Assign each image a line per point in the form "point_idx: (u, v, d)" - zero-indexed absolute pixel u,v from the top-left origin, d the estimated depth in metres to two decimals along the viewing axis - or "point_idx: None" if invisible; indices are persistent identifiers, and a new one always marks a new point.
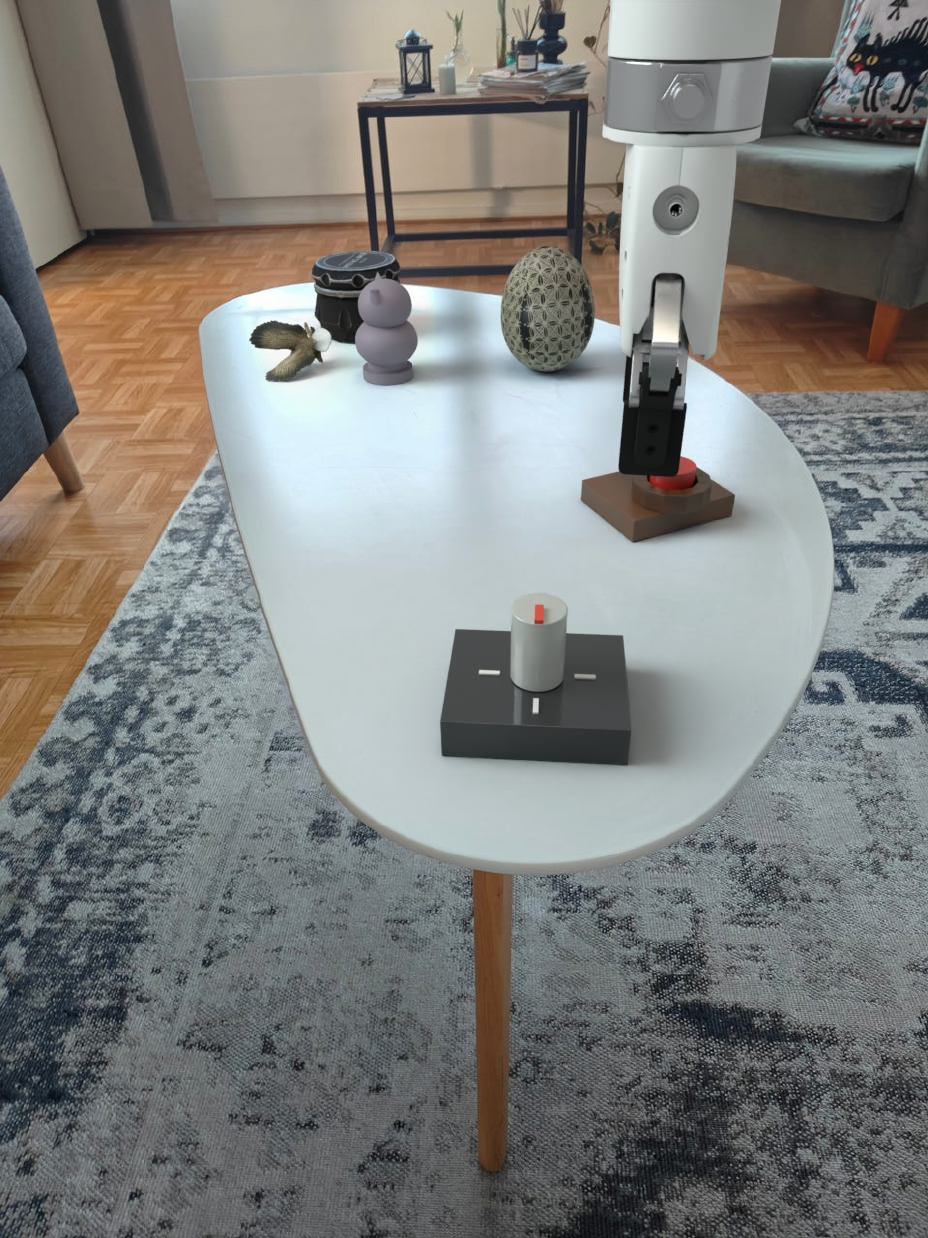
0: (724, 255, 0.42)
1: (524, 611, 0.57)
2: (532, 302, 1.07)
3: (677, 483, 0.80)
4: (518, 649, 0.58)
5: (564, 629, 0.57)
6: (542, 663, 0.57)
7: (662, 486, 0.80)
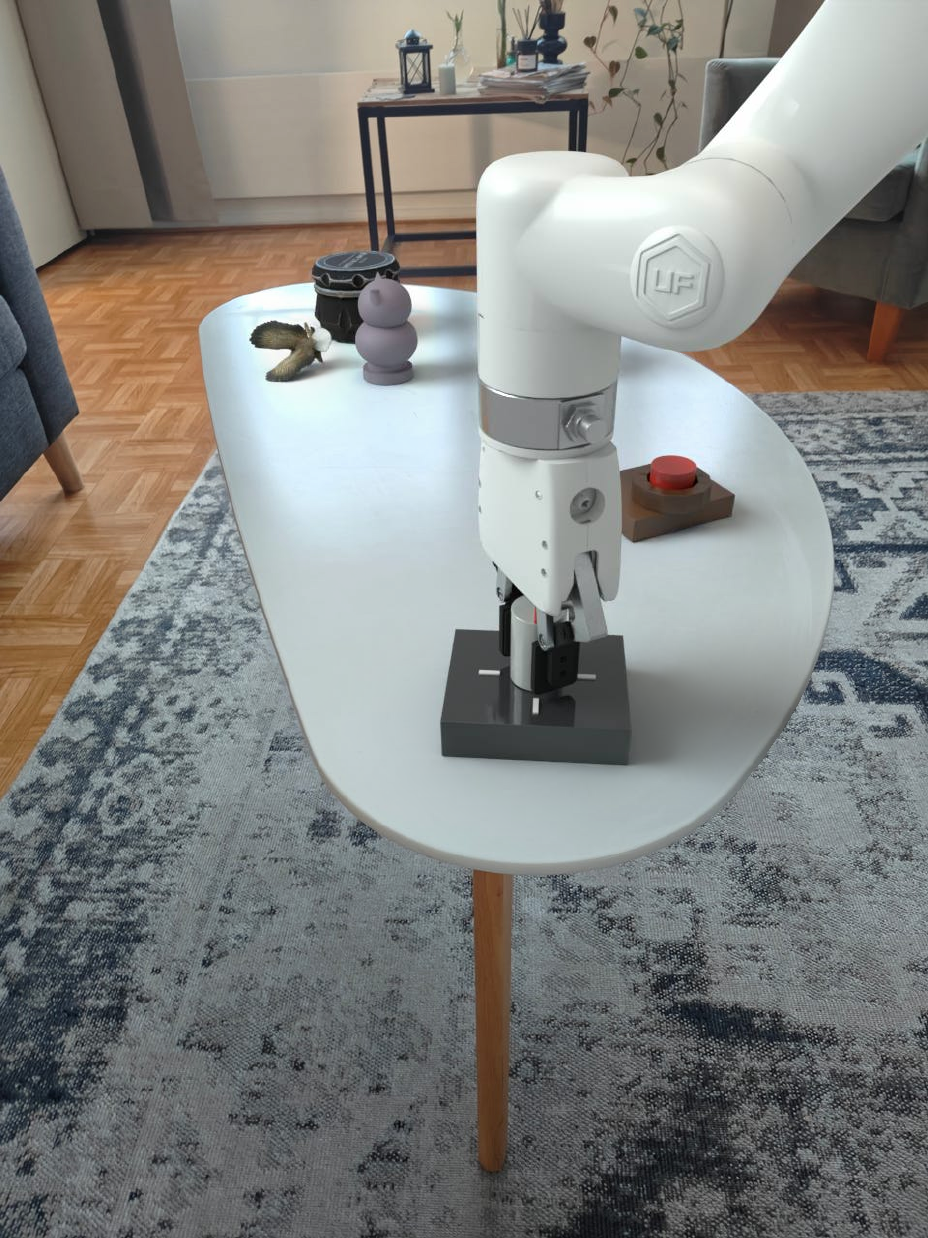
0: (621, 526, 0.50)
1: (524, 611, 0.57)
2: None
3: (677, 483, 0.80)
4: (518, 649, 0.58)
5: None
6: None
7: (662, 486, 0.80)
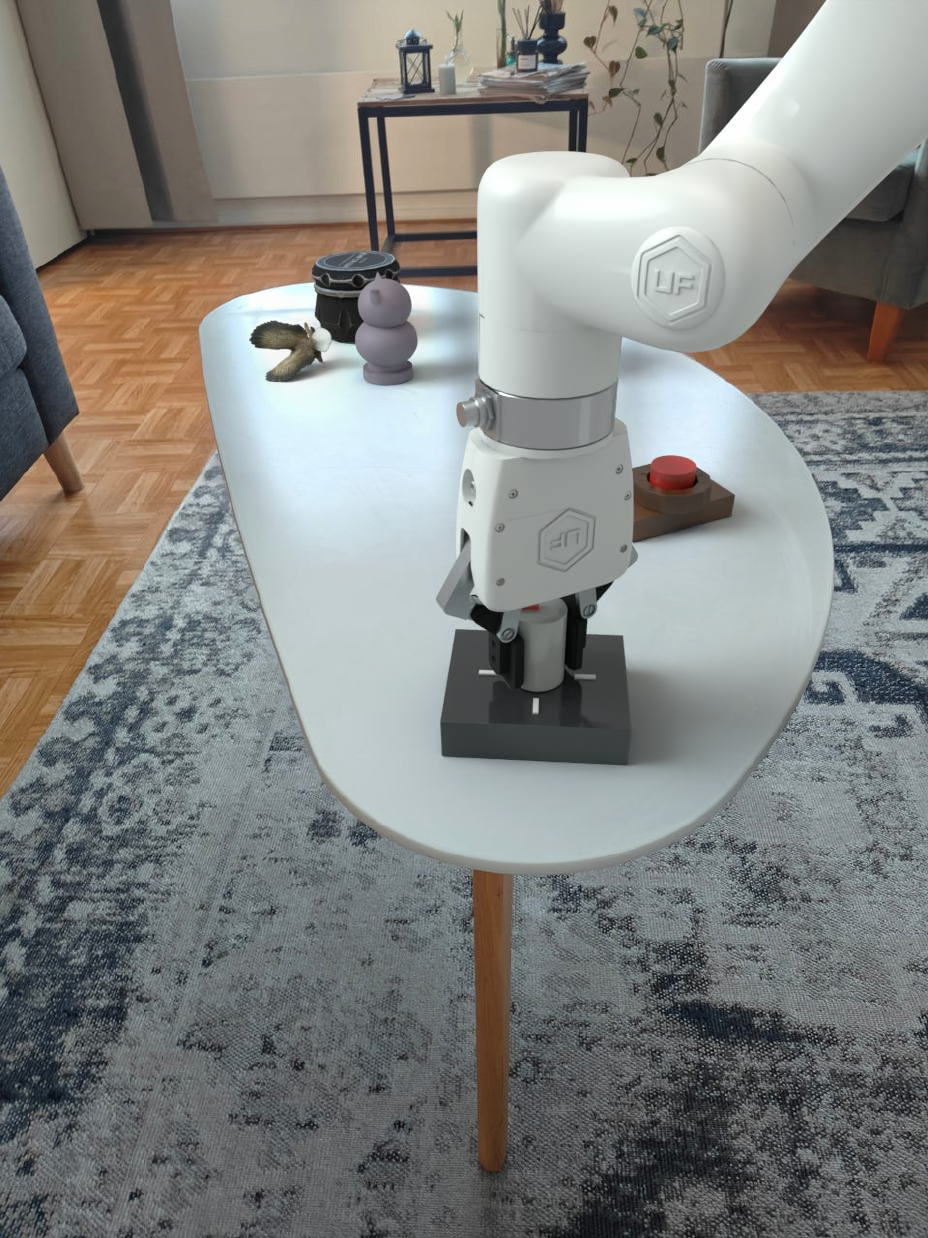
0: (491, 537, 0.49)
1: None
2: None
3: (677, 483, 0.80)
4: None
5: (526, 636, 0.57)
6: None
7: (662, 486, 0.80)
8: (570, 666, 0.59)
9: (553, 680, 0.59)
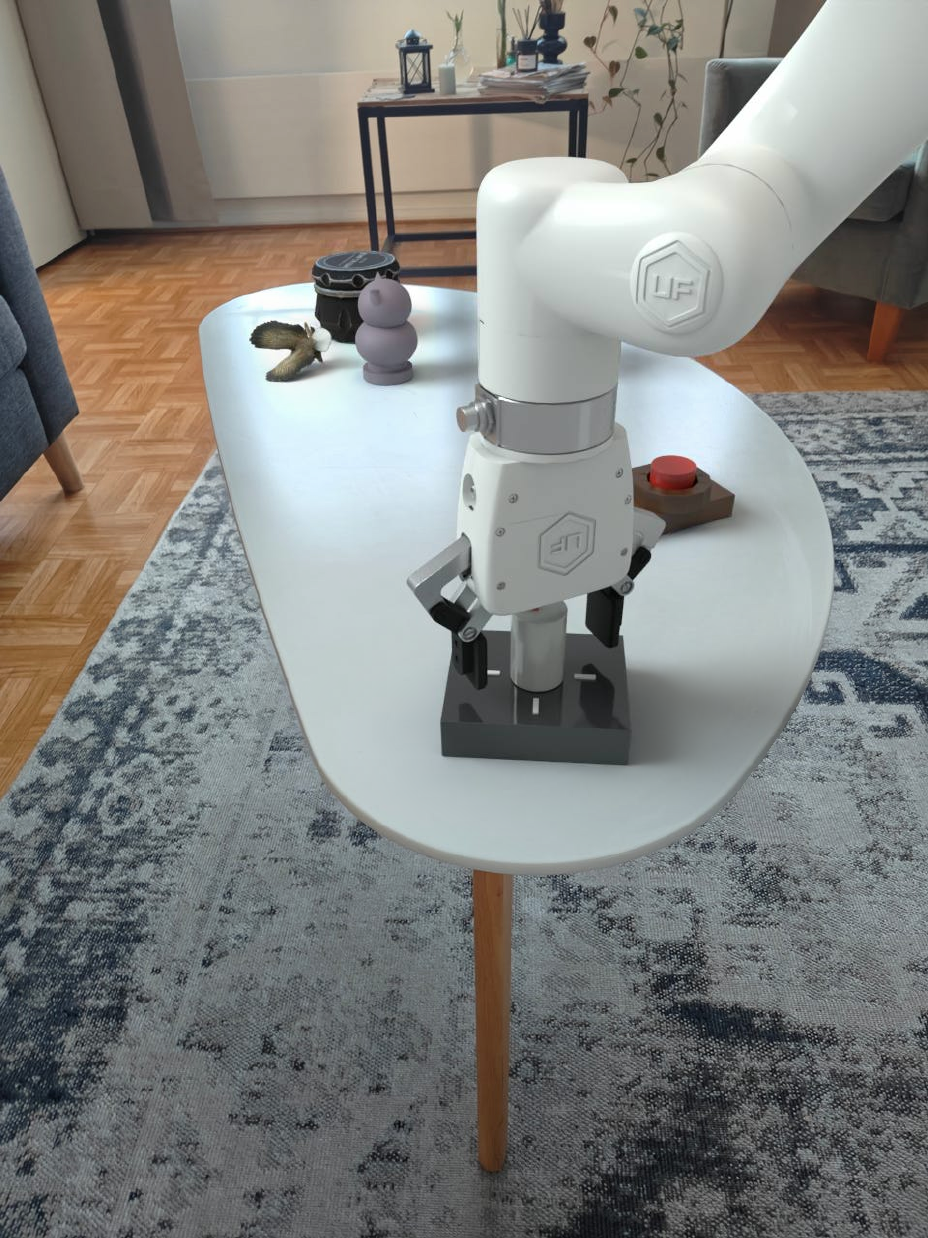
0: (491, 542, 0.50)
1: None
2: None
3: (677, 483, 0.80)
4: None
5: (527, 636, 0.56)
6: (511, 648, 0.59)
7: (662, 486, 0.80)
8: (606, 644, 0.60)
9: (553, 679, 0.59)
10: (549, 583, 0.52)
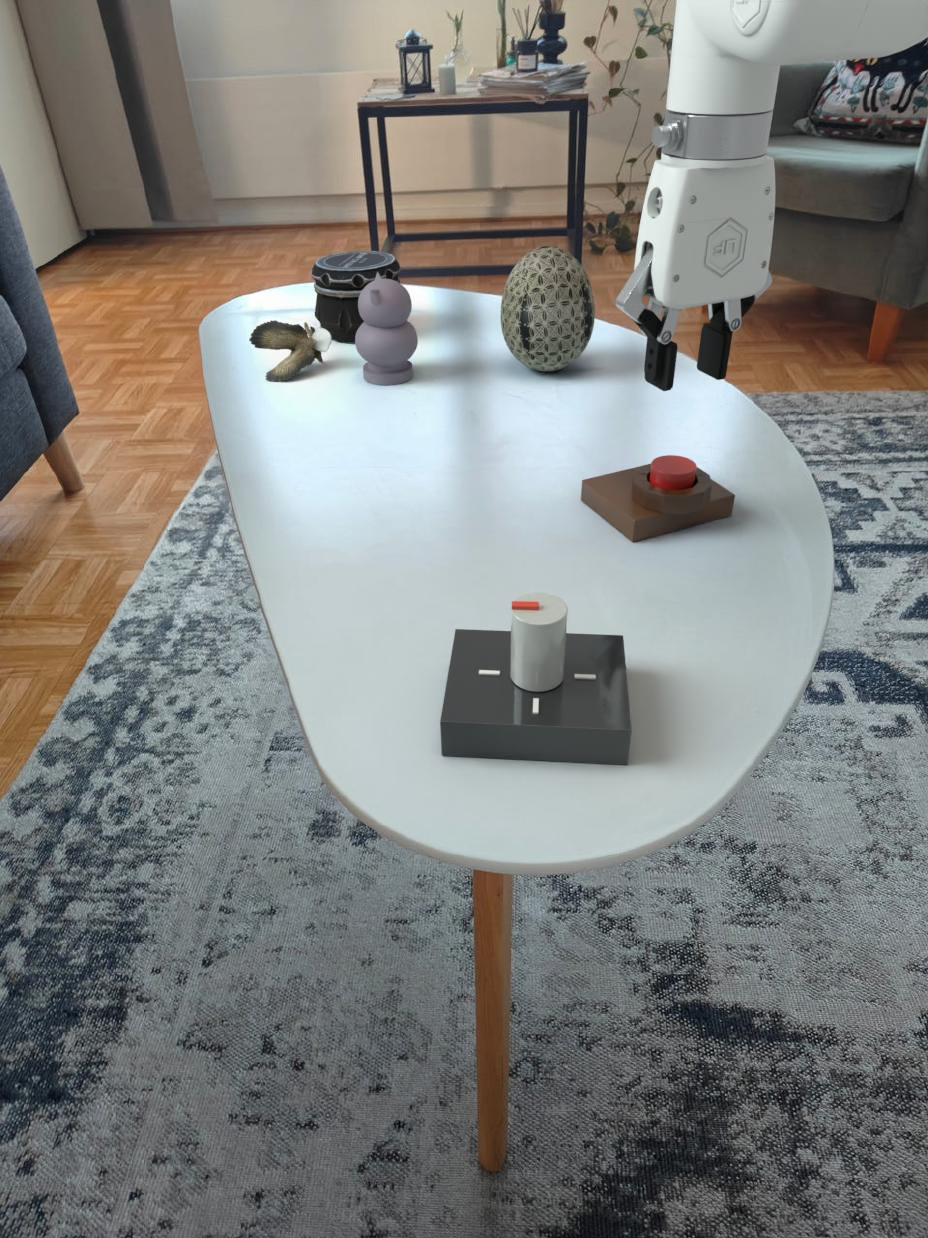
0: (673, 237, 0.66)
1: (532, 599, 0.58)
2: (532, 302, 1.07)
3: (677, 483, 0.80)
4: None
5: (527, 636, 0.56)
6: (511, 648, 0.59)
7: (662, 486, 0.80)
8: (717, 375, 0.76)
9: (553, 679, 0.59)
10: (709, 282, 0.69)
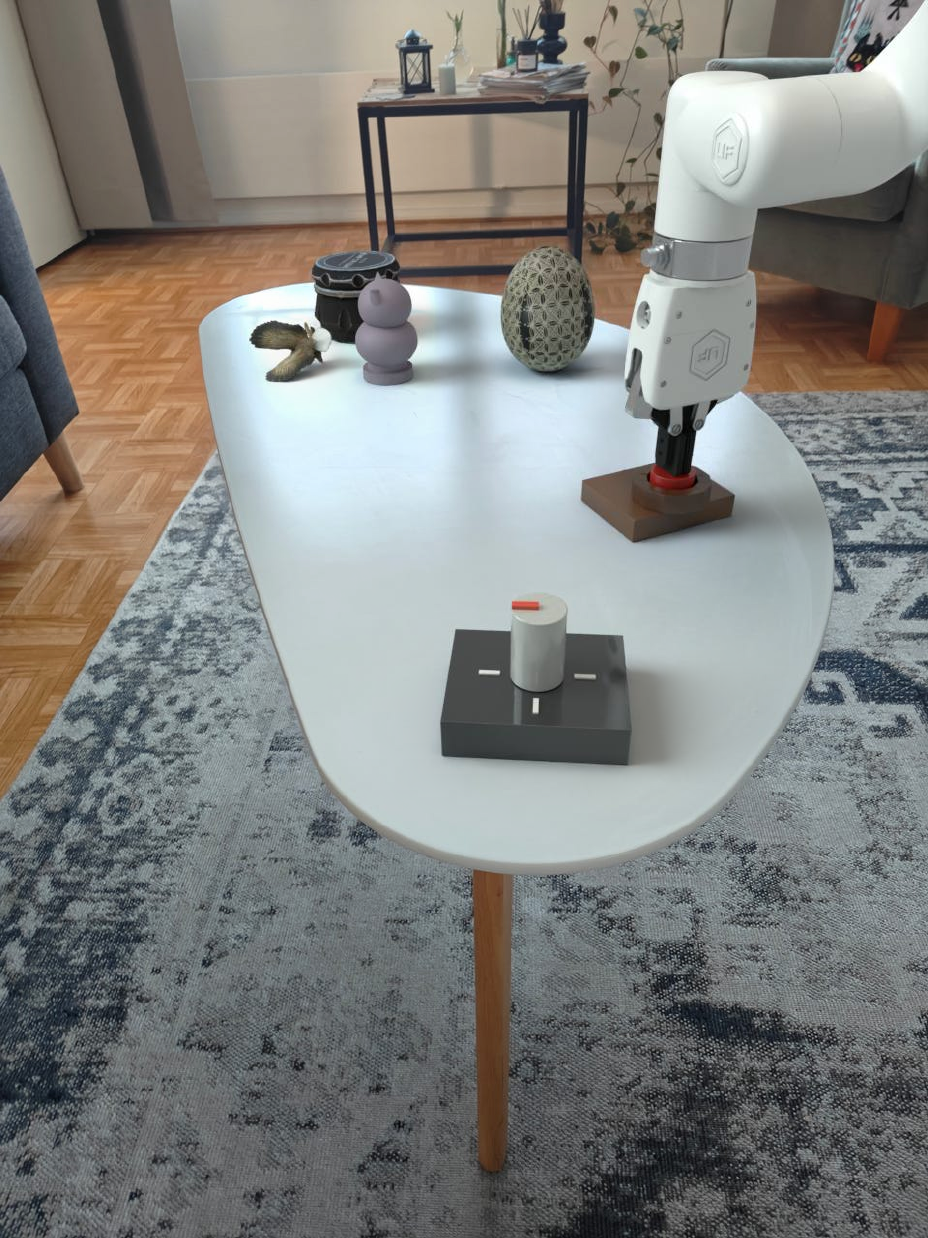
0: (660, 348, 0.70)
1: (532, 599, 0.58)
2: (532, 302, 1.07)
3: (676, 488, 0.80)
4: None
5: (527, 636, 0.56)
6: (511, 648, 0.59)
7: None
8: (682, 470, 0.80)
9: (553, 679, 0.59)
10: (695, 385, 0.73)
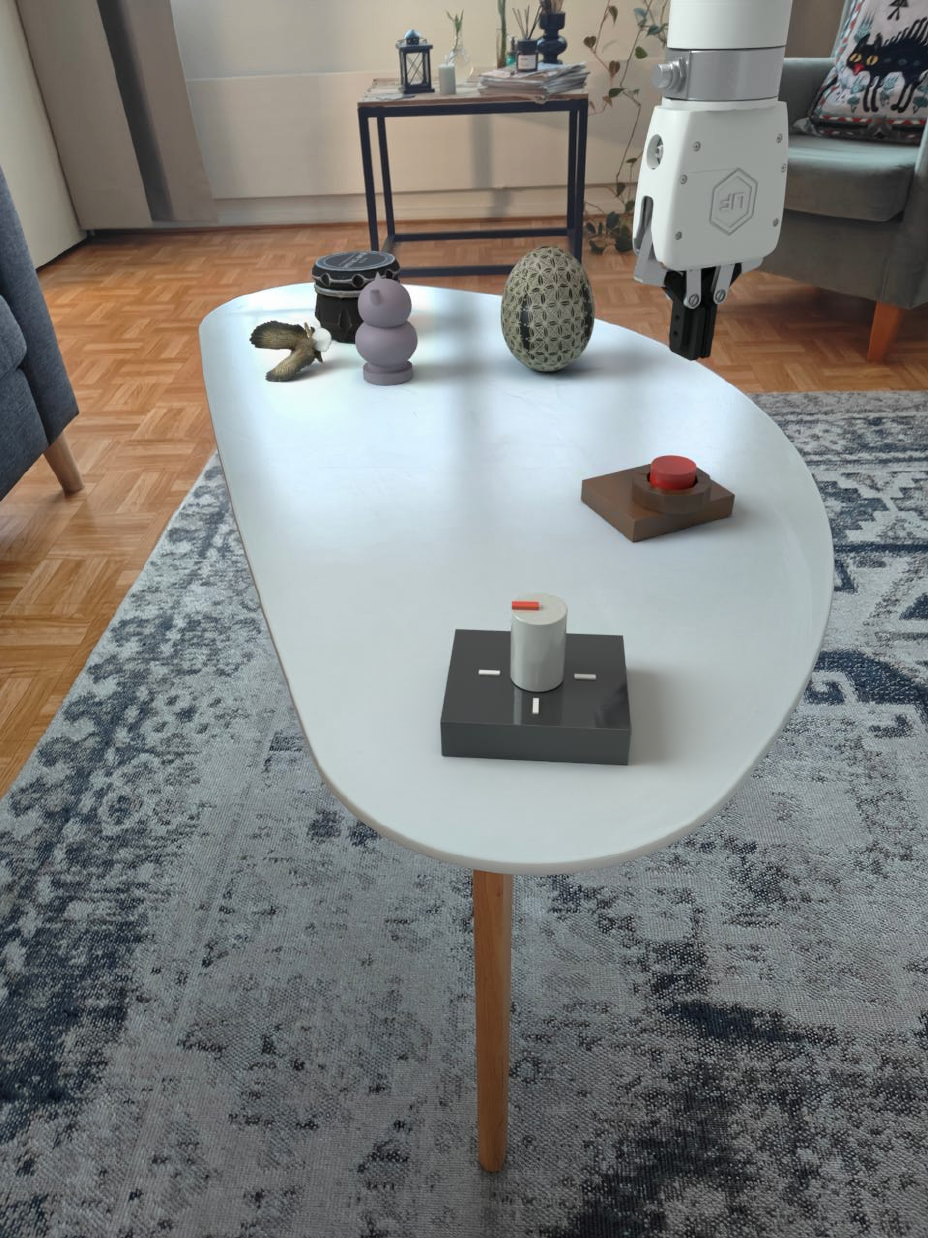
0: (675, 189, 0.59)
1: (532, 599, 0.58)
2: (532, 302, 1.07)
3: (677, 483, 0.80)
4: None
5: (527, 636, 0.56)
6: (511, 648, 0.59)
7: (662, 486, 0.80)
8: (700, 353, 0.69)
9: (553, 679, 0.59)
10: (716, 240, 0.62)
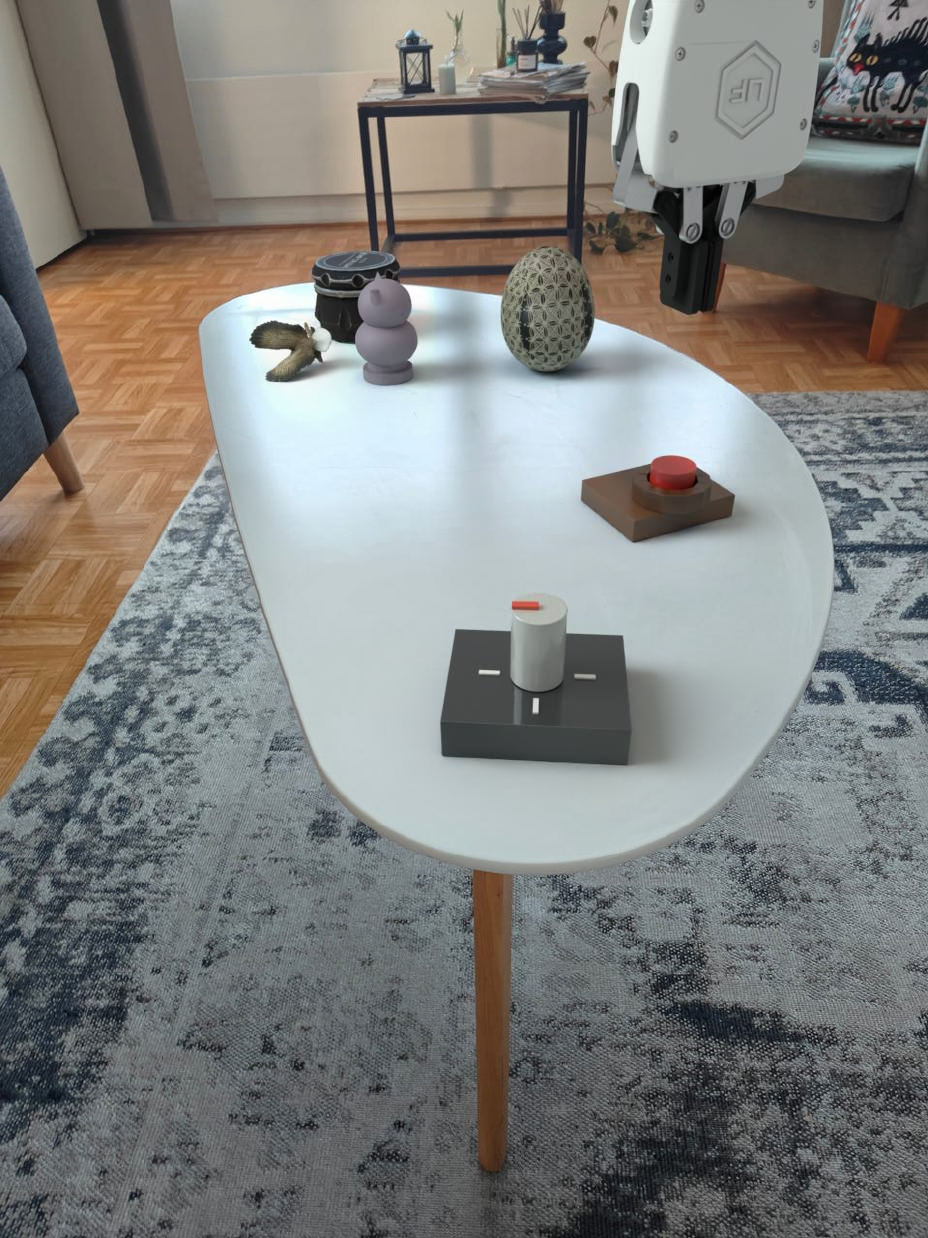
0: (669, 68, 0.43)
1: (532, 599, 0.58)
2: (532, 302, 1.07)
3: (677, 483, 0.80)
4: None
5: (527, 636, 0.56)
6: (511, 648, 0.59)
7: (662, 486, 0.80)
8: (701, 305, 0.52)
9: (553, 679, 0.59)
10: (724, 146, 0.46)
